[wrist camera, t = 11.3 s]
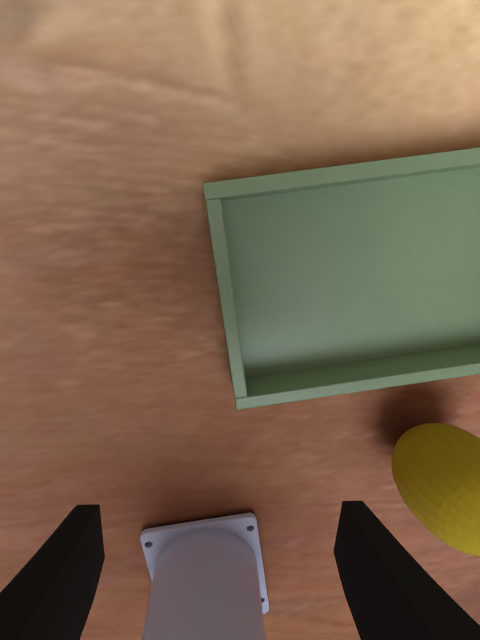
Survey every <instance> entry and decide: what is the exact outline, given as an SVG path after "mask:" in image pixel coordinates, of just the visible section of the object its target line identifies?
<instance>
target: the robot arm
mask: <svg viewBox="0 0 480 640" xmlns="http://www.w3.org/2000/svg"><path fill="white" fill-rule="evenodd" d="M140 542H141V545H142V549H143V552H144V556H145V559H146V563H147V566H148V570H149V573H150V577H151V581H152V586H151V592H150V597H149V603H148V608H147V614H146V619H145V624H144V630H143V635H142V640H266V638H265V629H264V620H263V614H265V613H267V612H268V610H269V603H268V596H267V589H266V582H265V575H264V568H263V561H262V554H261V547H260V540H259V534H258V527H257V520H256V516H255V515H254V514H253V513H243V514H237V515H231V516H224V517H218V518H212V519H205V520H199V521H192V522H186V523H180V524H173V525H167V526H161V527H154V528H148V529H144V530H143V531H142V532H141V535H140ZM334 555H335V559H336V563H337V567H338V571H339V575H340V579H341V583H342V586H343V590H344V593H345V596H346V599H347V602H348V605H349V608H350V610H351V613H352V616H353V619H354V622H355V624H356V627H357V630H358V633H359V636H360V638H361V640H480V625H479V624H478V623H476V622H475V621H474V620H473V619H472V618H471V617H470V616H469V615H468V614H467V613H466V612H465V611H464V610H463V609H462V608H461V607H460V606H459V605H458V604H457V603H456V602H455V601H454V600H453V599H452V598H451V597H450V596H449V595H448V594H447V593H446V592H445V591H444V590H443V589H442V588H441V587H440V586H439V585H438V584H437V583H436V582H435V581H434V580H433V579H432V578H431V576H430V575H429V574H428V573H427V572H426V571H425V570H424V569H423V568H422V567H421V566H420V565H419V564H418V563H417V562H416V560H415V559H414V558H413V557H412V556H411V555H410V554H409V553H408V552H407V551H406V550H405V548H404V547H403V546H402V545H401V544H400V543H399V542H398V541H397V540H396V538H395V537H394V536H393V535H392V534H391V533H390V532H389V531H388V529H387V528H386V527H385V526H384V525H383V524H382V523H381V522H380V520H379V519H378V518H377V517H376V516H375V515H374V514H373V512H372V511H371V510H370V509H369V508H368V507H367V506H366V505H365V503H364V502H363V501H343V502H342V508H341V513H340V519H339V524H338V530H337V535H336V541H335V547H334ZM104 558H105V555H104V545H103V535H102V525H101V515H100V506H99V505H77V506H76V507H75V508H74V509H73V510H72V511H71V512H70V513H69V515H68V516H67V517H66V518H65V519H64V521H63V522H62V523H61V524H60V525H59V527H58V528H57V529H56V530H55V531H54V533H53V534H52V535H51V536H50V537H49V538H48V540H47V541H46V542H45V543H44V544H43V545H42V547H41V548H40V549H39V550H38V551H37V552H36V554H35V555H34V556H33V557H32V558H31V559H30V560H29V561H28V563H27V564H26V565H25V566H24V567H23V568H22V569H21V570H20V572H19V573H18V574H17V575H16V576H15V577H14V578H13V579H12V581H11V582H10V583H9V584H8V585H7V586H6V587H5V588H4V589H3V590H2V591H1V593H0V640H80V637H81V634H82V631H83V628H84V626H85V623H86V620H87V617H88V615H89V612H90V609H91V606H92V603H93V600H94V596H95V593H96V589H97V585H98V582H99V578H100V574H101V570H102V566H103V562H104Z"/></svg>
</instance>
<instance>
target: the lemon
mask: <svg viewBox="0 0 480 640" xmlns="http://www.w3.org/2000/svg"><path fill="white" fill-rule="evenodd" d="M392 473H393V477H394V480H395V483H396V485H397V488H398V490H399V492H400V495H401V496H402V498H403V500H404V502H405V503H406V505H407V506H408V507H409V509H410V510H411V511H412V512H413V514H414V515H415V516H416V517H417V518H418V519H419V521H420V522H421V523H422V524H423V525H424V526H425V527H426V528H427V529H428V530H429V531H430V532H431V533H432V534H434V535H435V536H436V537H437V538H439V539H440V540H441V541H443V542H444V543H446V544H448V545H449V546H451V547H453V548H455V549H457V550H459V551H461V552H464V553H468V554H471V555H475V556H480V439H479V438H478V437H476V436H474V435H473V434H471V433H469V432H467V431H465V430H463V429H461V428H458V427H456V426H453V425H448V424H443V423H425V424H421V425H417V426H415V427H413V428H411V429H409V430H408V431H406V432H405V433H404V434H403V435H402V436H401V437H400V438H399V440H398V441H397V443H396V445H395V447H394V450H393V454H392Z"/></svg>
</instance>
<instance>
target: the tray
mask: <svg viewBox="0 0 480 640" xmlns="http://www.w3.org/2000/svg"><path fill="white" fill-rule="evenodd" d="M203 189H204V195H205V200H206V209H207V216H208V222H209V229H210V236H211V242H212V249H213V256H214V263H215V269H216V276H217V283H218V290H219V296H220V303H221V310H222V316H223V323H224V330H225V337H226V343H227V350H228V357H229V364H230V370H231V377H232V384H233V390H234V397H235V404H236V409H237V410H239V409H246V408H253V407H260V406H266V405H273V404H280V403H287V402H293V401H300V400H307V399H313V398H320V397H327V396H334V395H340V394H347V393H354V392H361V391H367V390H374V389H381V388H388V387H394V386H401V385H408V384H415V383H421V382H428V381H435V380H442V379H448V378H455V377H462V376H469V375H475V374H480V147H478V148H470V149H462V150H455V151H447V152H439V153H432V154H424V155H416V156H408V157H401V158H393V159H385V160H377V161H370V162H362V163H354V164H347V165H339V166H331V167H323V168H316V169H308V170H300V171H293V172H285V173H277V174H269V175H262V176H254V177H246V178H238V179H231V180H223V181H215V182H208V183H203Z"/></svg>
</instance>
